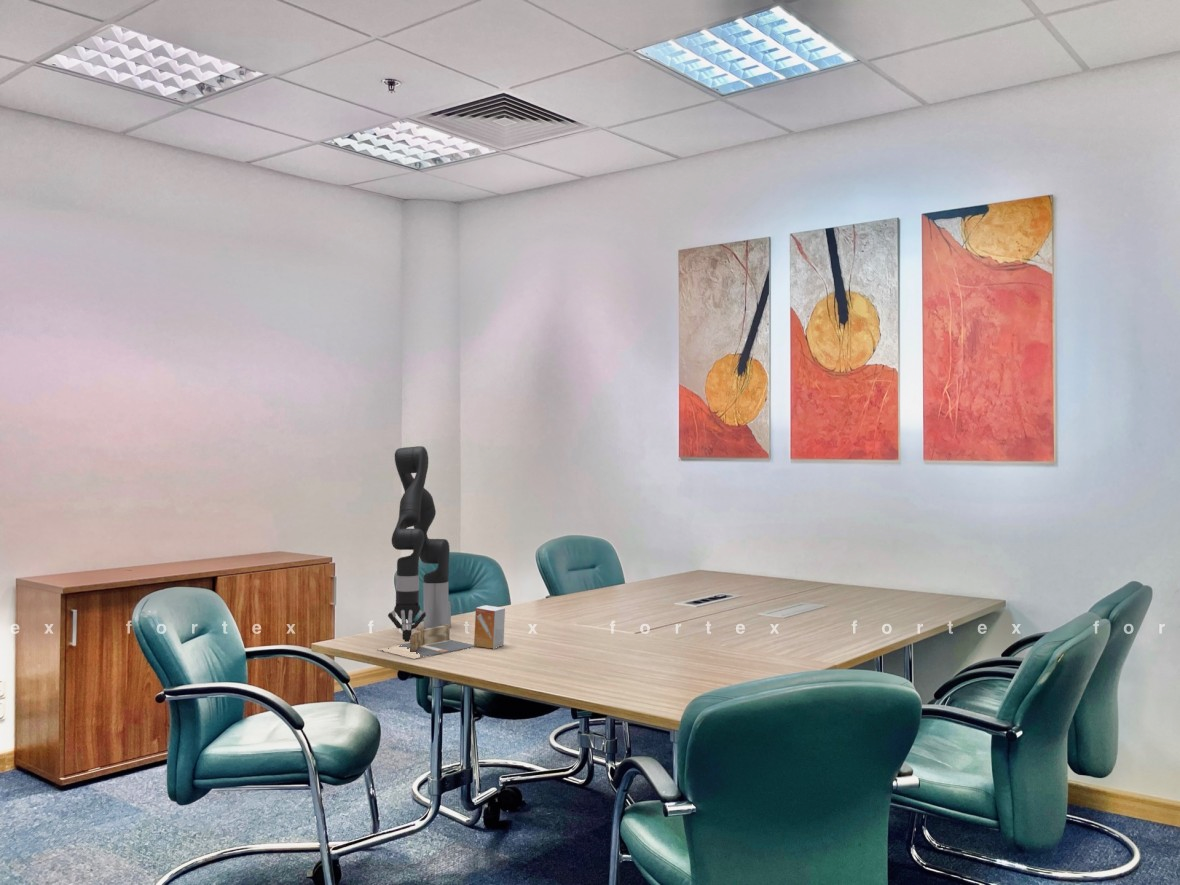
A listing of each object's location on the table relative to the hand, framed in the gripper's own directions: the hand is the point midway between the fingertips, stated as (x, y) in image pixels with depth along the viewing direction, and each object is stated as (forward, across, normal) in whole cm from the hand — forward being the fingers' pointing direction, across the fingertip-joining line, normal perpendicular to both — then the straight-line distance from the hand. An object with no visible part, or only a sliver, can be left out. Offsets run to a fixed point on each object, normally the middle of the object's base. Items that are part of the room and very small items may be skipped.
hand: (406, 641), depth 322 cm
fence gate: (+3, -3, -1) cm, 4 cm away
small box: (+3, -27, -5) cm, 28 cm away
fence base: (+3, -8, -12) cm, 14 cm away
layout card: (+4, -6, -5) cm, 9 cm away
